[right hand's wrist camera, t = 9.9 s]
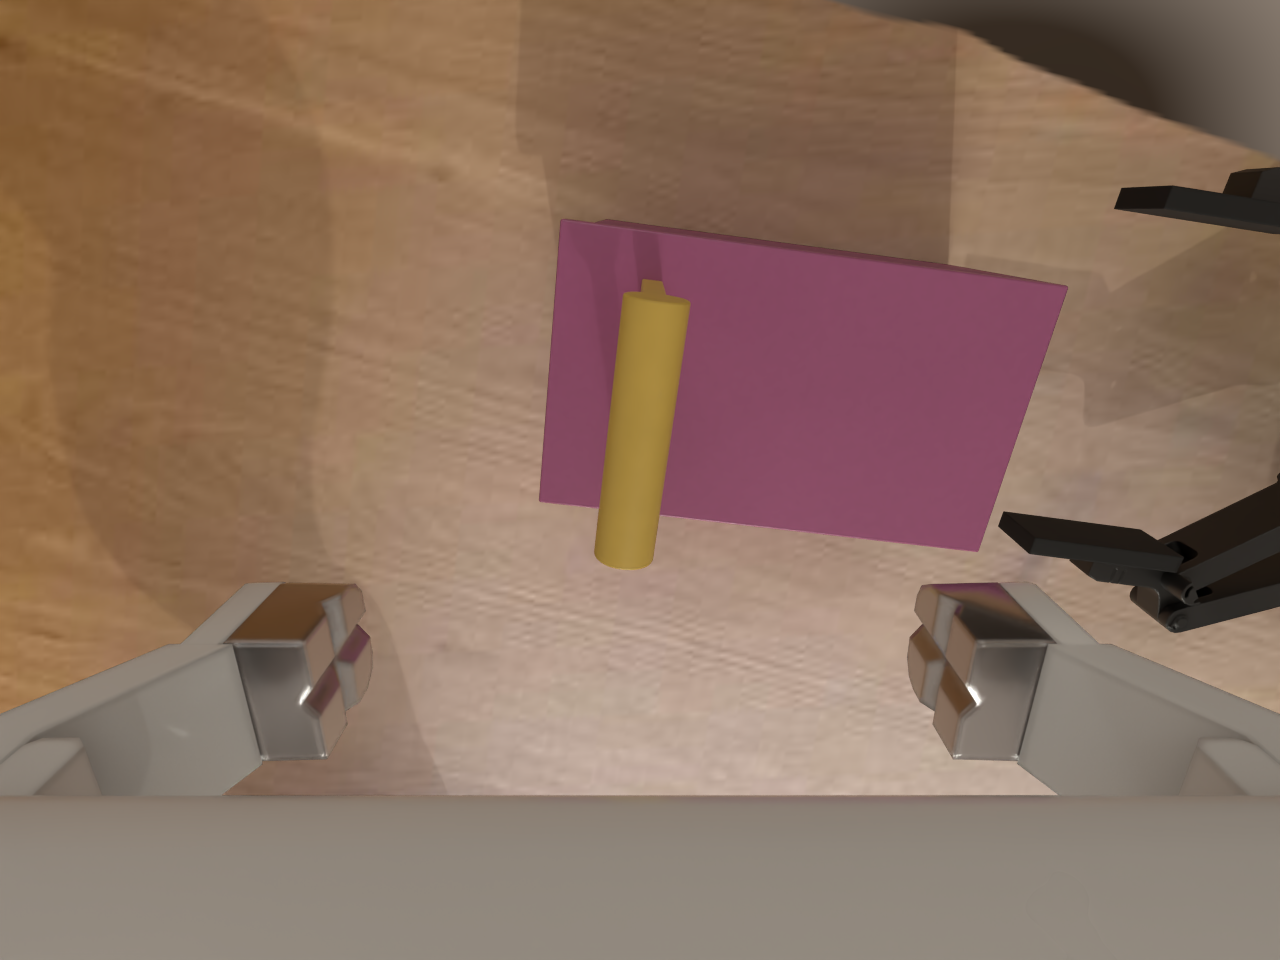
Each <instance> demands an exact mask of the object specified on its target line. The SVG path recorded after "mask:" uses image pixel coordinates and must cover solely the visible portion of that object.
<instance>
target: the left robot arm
mask: <svg viewBox="0 0 1280 960" xmlns="http://www.w3.org/2000/svg"><path fill="white" fill-rule="evenodd" d="M1114 209H1118V210H1124V211H1130V212H1137V213H1143V214H1150V215H1156V216H1162V217H1169V218H1175V219H1182V220H1188V221H1194V222H1201V223H1207V224H1213V225H1220V226H1226V227H1233V228H1239V229H1245V230H1252V231H1258V232H1265V233H1271V234H1280V167H1276V168H1261V169H1246V170H1242V171H1238V172H1234V173H1231V174H1230V177H1229V179H1228V182H1227V184H1226V186H1225V189H1224V191H1223V193H1216V192H1210V191H1204V190H1198V189H1191V188H1185V187H1179V186H1153V187H1131V188H1121V191H1120V194H1119V197H1118V199H1117V202H1116V205H1115V208H1114ZM1277 478H1278V481H1277V483H1275V484H1273V485H1271V486H1269V487H1267V488H1265V489H1263V490H1261V491H1259V492H1257V493H1255V494H1252V495H1250V496H1248V497H1246V498H1244V499H1242V500H1240V501H1238V502H1236V503H1234V504H1232V505H1230V506H1228V507H1226V508H1223V509H1221V510H1219V511H1217V512H1215V513H1213V514H1211V515H1209V516H1207V517H1205V518H1203V519H1201V520H1199V521H1197V522H1195V523H1192V524H1190V525H1188V526H1186V527H1184V528H1182V529H1180V530H1178V531H1176V532H1174V533H1172V534H1170V535H1168V536H1166V537H1163V538H1161V539H1159V540H1156V539H1155V538H1153V537H1151V536H1150V535H1148V534H1147V533H1145V532H1144V531H1142V530H1140V529H1133V528H1125V527H1117V526H1110V525H1102V524H1095V523H1087V522H1080V521H1072V520H1064V519H1057V518H1049V517H1042V516H1034V515H1027V514H1019V513H1012V512H1003V514H1002V517H1001V520H1000V523H999V525H998V527H999V528H1001V529H1002V530H1003V531H1004V532H1005V533H1006V534H1007V535H1009V536H1010V537H1011V538H1012V539H1013V540H1014V541H1015V542H1016V543H1018V544H1019V545H1020V546H1021V547H1022V548H1023V549H1024V550H1026V551H1027V552H1028V553H1029V554H1034V555H1042V556H1050V557H1057V558H1065V559H1070V560H1069V561H1071V562H1072V563H1073V564H1074V565H1076V566H1077V567H1078V568H1079V569H1080V570H1082V571H1083V572H1084V573H1085V574H1087V575H1088V576H1089V577H1091V578H1093V579H1095V580H1096V581H1101V582H1108V583H1109V582H1110V583H1116V584H1118V583H1119V584H1124V585H1132V586H1135V587H1134V588H1133V589H1132V590H1131V592H1130V599H1131V601H1133V602H1134V603H1135V604H1136V605H1138V606H1139V607H1140V608H1141V609H1142V610H1144V611H1145V612H1146V613H1147V614H1149V615H1150V616H1151V617H1152V618H1154V619H1155V620H1156V621H1158V622H1159V623H1160V624H1161V625H1163V626H1164V627H1165V628H1166V629H1168V630H1169V631H1170V632H1174V633H1178V632H1183V631H1187V630H1191V629H1195V628H1199V627H1203V626H1207V625H1210V624H1214V623H1218V622H1222V621H1226V620H1230V619H1234V618H1237V617H1241V616H1245V615H1249V614H1253V613H1257V612H1261V611H1264V610H1268V609H1272V608H1276V607H1280V473H1279V474H1278V476H1277Z"/></svg>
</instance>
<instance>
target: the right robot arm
mask: <svg viewBox="0 0 1280 960" xmlns="http://www.w3.org/2000/svg"><path fill="white" fill-rule="evenodd" d="M365 611H366V609H365V605H364V600H363V595H362V591H361V590H360V588H359V587H358V586H357V585H356V584H341V583H285V582H256V583H247V584H244V585H243V586H242V587H241V588H240V589H239V590H238V591H237V592H236V593H235V594H234V595H233V596H232V597H230V598H229V599H228V600H227V601H226V602H225V603H224V604H223V605H222V606H221V607H220V608H219V609H218V610H216V611H215V612H214V613H213V614H212V615H211V616H210V617H209V618H208V619H207V620H206V621H205V622H204V623H202V624H201V625H200V626H199V627H198V628H197V629H196V630H195V631H194V632H193V633H192V634H191V635H190V636H188V637H187V638H186V639H185V640H184V641H183V642H182V643H181V644H168V645H165V646H163V647H160V648H158V649H156V650H153V651H151V652H148V653H146V654H144V655H141V656H139V657H136V658H134V659H132V660H129V661H127V662H124V663H122V664H120V665H117V666H115V667H112V668H110V669H107V670H105V671H103V672H100V673H98V674H95V675H93V676H91V677H88V678H86V679H83V680H81V681H79V682H76V683H74V684H71V685H69V686H67V687H64V688H62V689H59V690H57V691H54V692H52V693H50V694H47V695H45V696H42V697H40V698H38V699H35V700H33V701H30V702H28V703H26V704H23V705H21V706H18V707H16V708H13V709H11V710H9V711H6V712H4V713H1V714H0V960H1280V714H1278V713H1276V712H1273V711H1271V710H1268V709H1266V708H1264V707H1261V706H1259V705H1256V704H1254V703H1252V702H1249V701H1247V700H1244V699H1242V698H1240V697H1237V696H1235V695H1232V694H1230V693H1228V692H1225V691H1223V690H1220V689H1218V688H1216V687H1213V686H1211V685H1208V684H1206V683H1204V682H1201V681H1199V680H1196V679H1194V678H1192V677H1189V676H1187V675H1184V674H1182V673H1180V672H1177V671H1175V670H1172V669H1170V668H1168V667H1165V666H1163V665H1160V664H1158V663H1156V662H1153V661H1151V660H1148V659H1146V658H1144V657H1141V656H1139V655H1136V654H1134V653H1132V652H1129V651H1127V650H1124V649H1122V648H1119V647H1117V646H1115V645H1112V644H1099V643H1098V642H1097V641H1096V640H1095V639H1094V638H1093V637H1092V636H1091V635H1089V634H1088V633H1087V632H1086V631H1085V630H1084V629H1083V628H1082V627H1081V626H1080V625H1079V624H1078V623H1077V622H1075V621H1074V620H1073V619H1072V618H1071V617H1070V616H1069V615H1068V614H1067V613H1066V612H1065V611H1064V610H1063V609H1062V608H1060V607H1059V606H1058V605H1057V604H1056V603H1055V602H1054V601H1053V600H1052V599H1051V598H1050V597H1049V596H1048V595H1047V594H1045V593H1044V592H1043V591H1042V590H1041V589H1040V588H1039V587H1038V586H1037V585H1036V584H1032V583H1029V582H1006V583H958V584H928V585H922V586H921V588H920V590H919V592H918V594H917V598H916V604H915V609H914V611H915V613H916V614H917V616H918V617H919V619H920V621H921V622H922V625H921V626H920V627H919V628H918V629H917V630H916V631H915V632H914V633H913V634H912V635H911V636H910V639H909V647H908V654H907V661H908V672H909V678H910V681H911V684H912V687H913V690H914V692H915V694H916V696H917V698H918V699H919V701H920V702H921V703H922V704H924V705H926V706H927V707H929V708H930V709H932V710H933V711H935V713H934V719H933V726H934V727H935V729H936V731H937V733H938V734H939V736H940V738H941V740H942V741H943V743H944V745H945V746H946V748H947V750H948V752H949V753H950V755H951V757H952V758H953V759H963V760H1000V761H1018V763H1017V764H1018V765H1020V766H1021V767H1022V768H1024V769H1025V770H1026V771H1028V772H1029V773H1030V774H1032V775H1033V776H1034V777H1035V778H1037V779H1038V780H1039V781H1041V782H1042V783H1043V784H1045V785H1046V786H1047V787H1049V788H1050V789H1051V790H1053V791H1054V792H1055V793H1057V794H1058V795H769V796H567V795H566V796H565V795H563V796H562V795H222V794H224V793H225V792H226V791H228V790H229V789H230V788H232V787H233V786H234V785H236V784H237V783H238V782H239V781H241V780H242V779H243V778H245V777H246V776H247V775H249V774H250V773H251V772H253V771H254V770H255V769H257V768H258V767H259V766H261V765H262V761H279V760H315V759H328V757H329V755H330V753H331V752H332V750H333V748H334V746H335V745H336V743H337V741H338V740H339V738H340V736H341V734H342V733H343V731H344V729H345V727H346V726H347V719H346V713H345V711H347V710H348V709H350V708H351V707H353V706H354V705H356V704H358V703H359V702H360V701H361V699H362V697H363V696H364V694H365V692H366V690H367V688H368V684H369V680H370V676H371V672H372V645H371V639H370V636H369V635H368V634H367V633H366V632H365V631H364V630H363V629H362V628H361V627H360V626H359V625H358V622H359V621H360V619H361V617H362V616H363V614H364V613H365Z"/></svg>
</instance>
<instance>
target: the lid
mask: <svg viewBox="0 0 1280 960" xmlns="http://www.w3.org/2000/svg"><path fill="white" fill-rule="evenodd" d="M1067 290H1068V287H1067V286H1065V285H1060V284H1054V283H1046V282H1038V281H1031V280H1023V279H1016V278H1008V277H1001V276H993V275H986V274H978V273H971V272H963V271H955V270H948V269H940V268H933V267H925V266H918V265H910V264H903V263H895V262H888V261H880V260H872V259H865V258H857V257H850V256H842V255H835V254H827V253H820V252H812V251H805V250H797V249H790V248H782V247H774V246H767V245H759V244H752V243H744V242H737V241H729V240H722V239H714V238H707V237H699V236H691V235H684V234H676V233H669V232H661V231H654V230H646V229H639V228H631V227H624V226H616V225H608V224H601V223H593V222H586V221H578V220H571V219H561V221H560V234H559V247H558V260H557V273H556V286H555V299H554V312H553V325H552V338H551V351H550V364H549V377H548V390H547V403H546V416H545V429H544V442H543V455H542V468H541V481H540V494H539V501H540V502H545V503H554V504H563V505H572V506H580V507H589V508H598V509H599V513H598V522H597V531H596V540H595V549H594V554H595V556H596V558H597V559H598V560H599V561H600V562H601V563H603V564H605V565H607V566H609V567H612V568H616V569H622V570H637V569H642V568H644V567H647V566H648V565H649V564H650V563H651V562H652V560H653V555H654V548H655V542H656V535H657V528H658V521H659V516H668V517H676V518H685V519H694V520H703V521H711V522H720V523H729V524H738V525H746V526H755V527H764V528H772V529H781V530H790V531H799V532H807V533H816V534H825V535H834V536H842V537H851V538H860V539H869V540H877V541H886V542H895V543H904V544H912V545H921V546H930V547H939V548H947V549H956V550H965V551H973V552H978V551H979V548H980V545H981V542H982V539H983V536H984V533H985V530H986V527H987V524H988V521H989V518H990V515H991V512H992V510H993V507H994V504H995V501H996V498H997V495H998V492H999V489H1000V486H1001V483H1002V480H1003V477H1004V474H1005V471H1006V469H1007V466H1008V463H1009V460H1010V457H1011V454H1012V451H1013V448H1014V445H1015V442H1016V439H1017V436H1018V433H1019V430H1020V427H1021V425H1022V422H1023V419H1024V416H1025V413H1026V410H1027V407H1028V404H1029V401H1030V398H1031V395H1032V392H1033V389H1034V386H1035V383H1036V381H1037V378H1038V375H1039V372H1040V369H1041V366H1042V363H1043V360H1044V357H1045V354H1046V351H1047V348H1048V345H1049V342H1050V339H1051V337H1052V334H1053V331H1054V328H1055V325H1056V322H1057V319H1058V316H1059V313H1060V310H1061V307H1062V304H1063V301H1064V298H1065V295H1066V293H1067Z"/></svg>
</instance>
